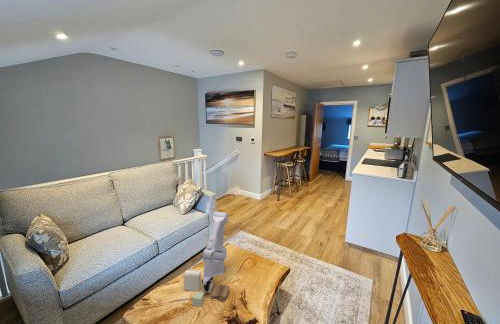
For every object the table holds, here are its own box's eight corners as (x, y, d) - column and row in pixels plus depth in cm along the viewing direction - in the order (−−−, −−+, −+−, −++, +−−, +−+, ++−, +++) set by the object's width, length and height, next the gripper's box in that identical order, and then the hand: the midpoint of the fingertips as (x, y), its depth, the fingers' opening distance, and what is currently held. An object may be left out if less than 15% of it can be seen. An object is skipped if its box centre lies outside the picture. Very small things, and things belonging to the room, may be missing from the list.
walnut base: (210, 300, 119) (210, 295, 119) (215, 289, 128) (215, 284, 128) (225, 301, 118) (225, 296, 117) (229, 290, 127) (229, 286, 126)
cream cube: (202, 292, 125) (203, 284, 124) (205, 286, 130) (205, 279, 129) (210, 293, 124) (210, 285, 124) (213, 287, 129) (213, 280, 129)
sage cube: (192, 305, 114) (192, 297, 114) (195, 299, 119) (195, 291, 119) (200, 307, 114) (200, 299, 113) (203, 300, 119) (204, 292, 118)
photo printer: (183, 290, 125) (183, 272, 124) (185, 285, 130) (185, 267, 128) (199, 291, 125) (200, 272, 124) (201, 286, 130) (201, 268, 128)
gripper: (211, 275, 118) (210, 297, 119) (218, 261, 132) (217, 280, 134) (199, 274, 119) (199, 295, 120) (208, 260, 133) (207, 279, 134)
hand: (208, 287), depth 127 cm, fingers closed on cream cube, 5 cm apart
